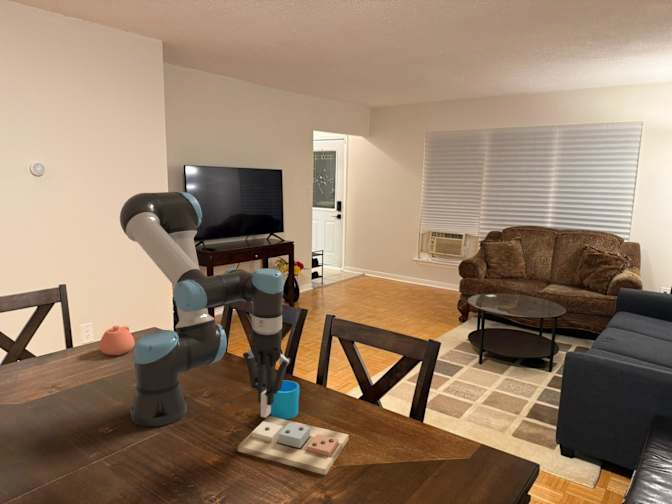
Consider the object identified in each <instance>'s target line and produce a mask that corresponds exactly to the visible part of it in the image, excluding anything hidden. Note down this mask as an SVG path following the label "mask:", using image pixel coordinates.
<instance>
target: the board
mask: <svg viewBox="0 0 672 504" xmlns="http://www.w3.org/2000/svg"><path fill="white" fill-rule="evenodd" d="M263 421H264V422H268V423H273V424H277V425H281V426H283V429H284V428H285V427H286V426H287V425H288V423H289V422H290V423H294V424H298V425H303V426H307V427H310V437H309V438H308V439H307V440H306V442H305V443H304V444H303V445H302V447H301V448H296V447H292V446H288V445H284V444H281V443H279V436H278V437H277V438H276V439H275V440H274V441H273V443H272V442H268V441H264V440H260V439H256V438H252V432H250V433H249V435H248V436H246V437H245V438H244V439H243V440H242V441H241V442H240V443H239V444H238V445H237V452H239V453H243V454H247V455H251V456H253V457H257V458H260V459H264V460H268V461H272V462H276V463H279V464H283V465H287V466H290V467H295V468H297V469H298V468H299V469H301V470H304V471H309V472H313V473H317V474H319V475H324V476H326V475H327V474H328V472H329V470H330V469H331V467H332V466H333V464H334V463H335V461H336V460H337V459H338V456H339V455H340V454H341V452H342V451H343V449H344V448H345V446H346V444H347V442H348V441H349V435H350V434H347V433H343V432H339V431H336V430H331V429H327V428H322V427H318V426H314V425H310V424H305V423H302V422H301V423H300V422H297V421H292V420H290V419H280V418H276V417H273V416H272V415H268V416H267V417H266V418H265V419H264V420H263ZM317 434H319V435H323V436H327V437H331V438H335V439H338V447H337V448H336V450H335V451H334V453H333V454H332V456H331V457H326V456H322V455H319V454H315V453H311V452H307V446H308V445H309V444H310V442H311V441H312V440H313V439H314V437H315V436H316V435H317Z"/></svg>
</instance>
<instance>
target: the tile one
mask: <svg viewBox="0 0 672 504" xmlns="http://www.w3.org/2000/svg"><path fill="white" fill-rule="evenodd" d="M282 430H283V426H281V425H277V424H273V423H268V422H264V420H263V421H262V422H261V423H260V424H259V425H258V426H256V427H255V428H254V430H252V431H251V433H252V438H256V439H260V440H264V441H268V442H272V443H273V441H274V440H275V439H276V438H277V437H278V436H279V433H280V432H281V431H282Z"/></svg>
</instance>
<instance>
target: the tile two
mask: <svg viewBox="0 0 672 504" xmlns="http://www.w3.org/2000/svg"><path fill="white" fill-rule="evenodd" d="M309 437H310V427H307V426H303V425H298V424H294V423H290V422H289V423H288V425H287V426H286V427H285V428H284V429H283V430H282V431H281V432H280V433H279V443H281V445H284V446H288V447H292V448H296V449H302V447H303V446H304V445H305V444H306V443H307V439H308V438H309Z"/></svg>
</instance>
